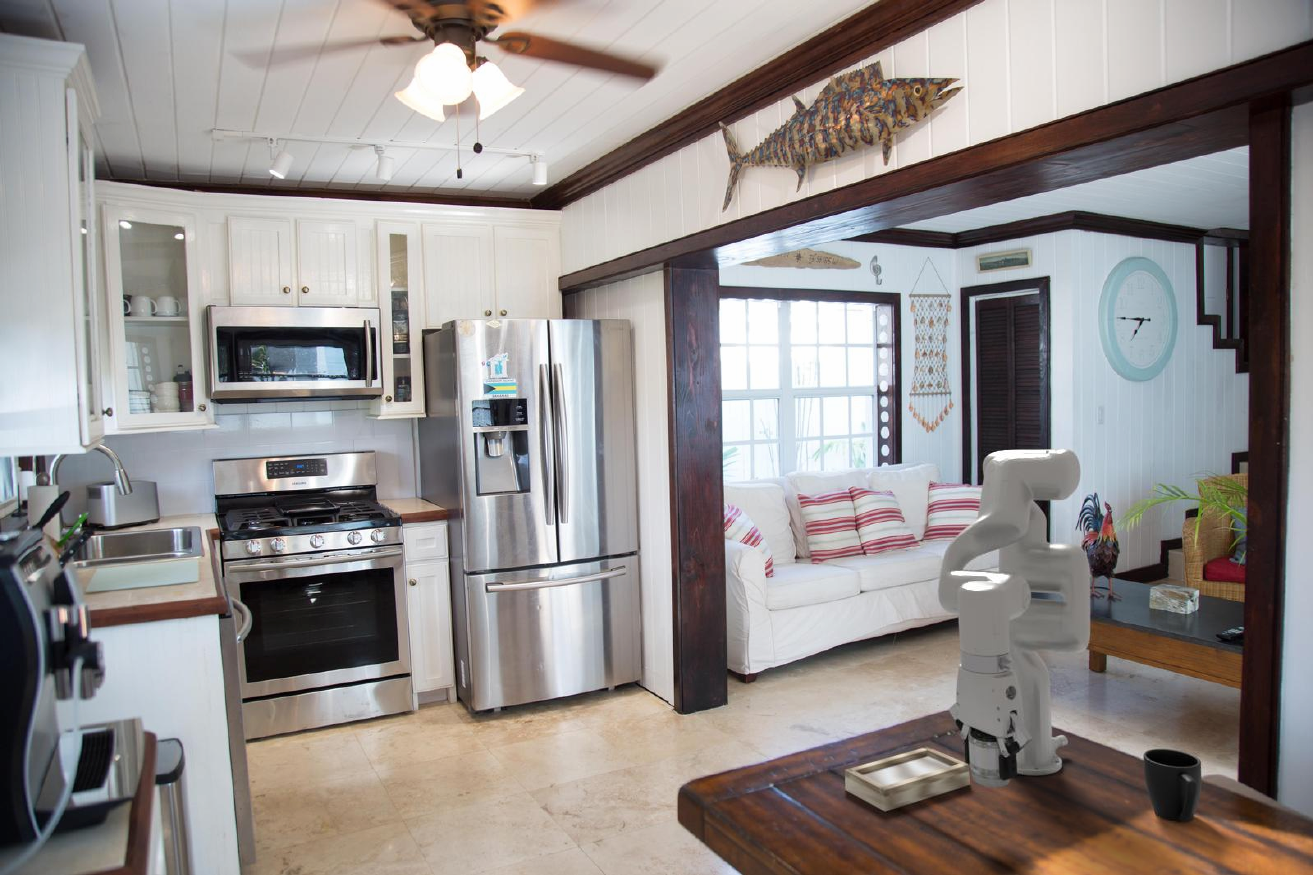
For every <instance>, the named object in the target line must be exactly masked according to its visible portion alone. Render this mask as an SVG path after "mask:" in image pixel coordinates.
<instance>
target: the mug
mask: <svg viewBox="0 0 1313 875" xmlns="http://www.w3.org/2000/svg"><path fill="white" fill-rule="evenodd" d="M1142 759H1143V775H1144V781H1145V786H1146V790H1147V794H1148V796H1149V799H1150V803H1151V806H1152V809H1153V812H1154V814H1155V815H1156V816H1157V817H1159V818H1160V819H1162V820H1164V821H1168V822H1172V823H1173V822H1174V823H1189V822H1191V821H1193V820H1194V819H1195V818H1194V816H1195V813H1196V810H1197V808H1198V804H1199V800H1200V796H1201V791H1202V790H1201V789H1202V761H1201V760H1200V758H1198V757H1197V756H1195V755H1194V754H1191V753H1189V752H1186V751H1182V750H1176V749H1168V748H1154V749H1148V750H1147V751H1145V752H1144V753H1143V758H1142Z"/></svg>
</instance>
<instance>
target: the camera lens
mask: <svg viewBox="0 0 1313 875" xmlns="http://www.w3.org/2000/svg"><path fill="white" fill-rule="evenodd" d="M968 738H969V756H970V765H969V770H970V773H971V776H972V780H973V782H975V783H977V784H978V785H981V786H984V787H989V788H1001V787H1005V786H1007V785H1009V783H1010V782H1011V779H1008V780H1005V781H1003V780H1001V779H1000V772H999V755H1001V754H1002V752H1001V749H1000V747H999V744H998V741H997V738H996V737H995V736H992V735H990V734H987V733H985V732H982V731H980V730H977V729H974V730H972V731H971V732H970V734H969V736H968ZM1005 740H1006V743H1007V746H1009V745H1010V743H1009V740H1008V738H1006V739H1005Z"/></svg>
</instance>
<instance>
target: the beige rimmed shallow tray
mask: <svg viewBox="0 0 1313 875" xmlns="http://www.w3.org/2000/svg"><path fill="white" fill-rule="evenodd" d="M844 778H845V781H844V783H845V790H846V791H847V792H848V793H850V794H852V795H854V796H856V797H857V798H859V799H861V800H863V801H864V802H867V803H869V804H870V805H872V806H873V807H876V808H878V809H880V810H882V812H887V811H891V810H895V809H898V808H901V807H904V806H906V805H907V806H908V805H910V804H913V803H917V802H920V801H923V800H927V799H929V798H933V797H936V796H938V795H939V796H940V795H941V794H945V793H948V792H951V791H954V790H957V789H960V788H964V787H967V786H970V785H971V782H970V781H971V779H970V778H971V777H970V765H968V764H966V763H965V761H962V760H960V759H957V758H955V757H952V756H950V755H947V754H945V753H943V752H940V751H938V750H936V749H934V748H932V747H929V746H925V747H921V748H918V749H915V750H911V751H907V752H904V753H899V754H897V755H894V756H890V757H886V758H883V759H879V760H876V761H872V762H868V763H865V764H862V765H859V766H858V765H857V766H854V767H850V768H847V769H845V770H844Z"/></svg>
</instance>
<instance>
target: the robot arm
mask: <svg viewBox="0 0 1313 875" xmlns="http://www.w3.org/2000/svg"><path fill="white" fill-rule="evenodd" d="M982 471H983V482H982V488H981V493H980V500H979V505H978V512H977V517H976V520H975V521H974V522H972V523H970V524H969V525H968V526H967V527H965V528H964V529H963V530H961V531H960V532H959V533H958V534H957V535H956V536H955V537H954V538H953V540H952V541H951V542H950V543H949V545H948V546H947V548H946V550H945V551H944V555H943V558H942V563H941V569H940V574H939V580H938V589H937V594H938V601H939V603H940V605H941V607H942V608H943V609H944V611H946V612H947V613H950V614H953V615H958V616H957V617H958V631H959V653H960V655H959V656H960V664H959V666H958V669H957V670H958V671H957V678H956V692H955V693H956V696H955V697H956V702H954V704H952V705H951V706H950V708H948V709H949V710H948V711H949V713H950V715H951V717H952V718H953V720H954V721H955V724H956V726H957V728H958V730H959V731H960V737H961V739H962V740H963V741H964V743H963V744H964V758H965V759H964V760H965V761H964V763H966V764H968V765H969V766H970V756H969V738H968V736H969V734H970V732H971V731H972V730H974V729H977V730H980V731H982V732H985V733H987V734H990V735H992V736H995V737H996V738H997V741H998V744H999V747H1000V749H1001V752H1002V754H1001V755H999V772H1000V779H1001V780H1003V781H1005V780H1008V779H1010V780H1011V779H1013V778H1015V777H1017V775H1025V776H1045V775H1051V774H1054V773H1055V774H1056V773H1058V772H1059V771H1060V770H1062V767H1063V761H1062V759H1061V757H1060V756H1059V755H1058V754H1056V750H1058V748H1060V747H1061V748H1062V747H1065V746H1066V745H1068V744H1069V740H1068V738H1067V737H1066V735H1063V734H1061V735H1057V736H1054V737H1053V728H1052V726H1053V725H1052V703H1051V701H1052V700H1051V677H1050V671H1049V669H1048V667H1047V665H1046V664H1045V662H1044V660H1043V659H1042V658H1041V656H1039V654H1038V653H1037V652H1040V651H1041V652H1052V653H1062V654H1063V653H1065V654H1066V653H1067V654H1079V653H1083V652H1084V651H1086V649H1088V646H1089V644H1090V637H1091V584H1090V583H1091V577H1090V573H1091V572H1090V564H1089V559H1088V556H1087V553H1086V552H1085V550H1084V549H1083V548H1082V547H1080V546H1079V545H1077V544H1072V543H1068V542H1067V543H1065V542H1064V543H1063V542H1062V543H1061V542H1048V541H1047V523H1048V522H1047V517H1046V514H1045V513H1044V511H1043V510H1042V509H1041V508H1040V506H1039V505H1038V504H1037V503H1036V502H1035V501H1064V500H1066V499H1068V498H1070V496H1071V495H1073V494H1074V493H1075V491H1076V490H1077V489H1078V487H1079V483H1080V480H1081V466H1080V460H1079V458H1078V456H1077V455H1076V453H1075V452H1074V451H1073V450H1070V449H1065V448H1064V449H1061V448H1060V449H1059V448H1057V449H1054V448H1053V449H1050V448H1049V449H1008V450H1007V449H1005V450H997V451H995V452H992V453H989V454H988V455H987V456H986V457H984V460H983V462H982ZM997 550H998V571H991V570H976V569H974V570H973V569H964V568H965V567H967V566H966V565H968V564H969V563H970V562H972V561H973V560H975V559H976V558H978V557H980V556H982V555H985V554H987V553H991V552H993V551H997ZM1032 593H1045V594H1047V593H1048V594H1058V595H1060V596H1061V597H1062V598H1063V600H1058V599H1045V598H1044V599H1043V598H1033V597H1032ZM1006 738H1008V740H1009V743H1010V745H1009V746H1007V743H1006V740H1005V739H1006Z"/></svg>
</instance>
